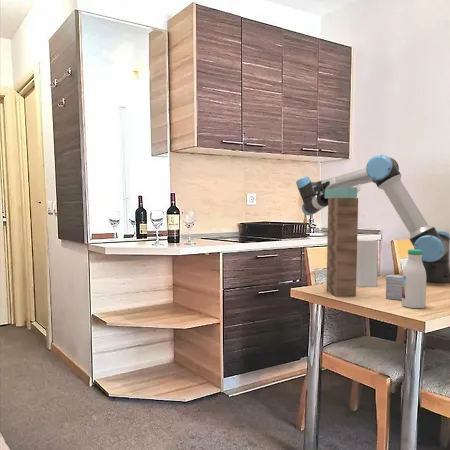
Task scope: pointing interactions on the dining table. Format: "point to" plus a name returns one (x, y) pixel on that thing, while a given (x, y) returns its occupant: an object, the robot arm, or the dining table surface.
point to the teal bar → (341, 192)
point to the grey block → (367, 263)
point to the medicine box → (394, 287)
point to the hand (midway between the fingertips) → (347, 183)
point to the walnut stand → (342, 246)
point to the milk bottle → (414, 281)
